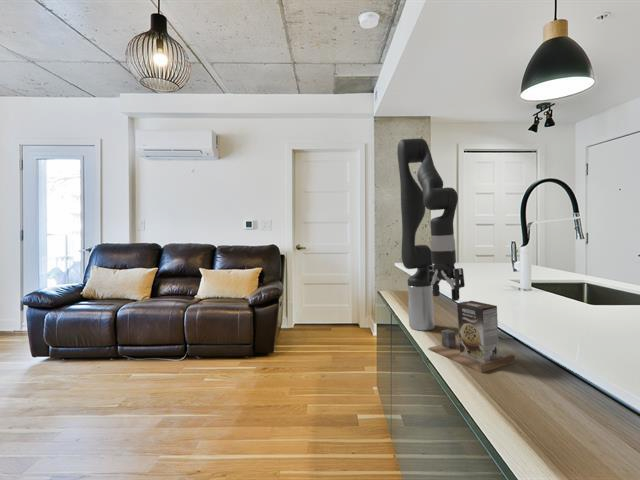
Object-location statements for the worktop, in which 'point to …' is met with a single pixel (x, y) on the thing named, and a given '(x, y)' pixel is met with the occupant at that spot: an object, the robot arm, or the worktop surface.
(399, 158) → the robot arm
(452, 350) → the brown wooden flat block
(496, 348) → the brown boxy piece
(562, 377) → the worktop surface
